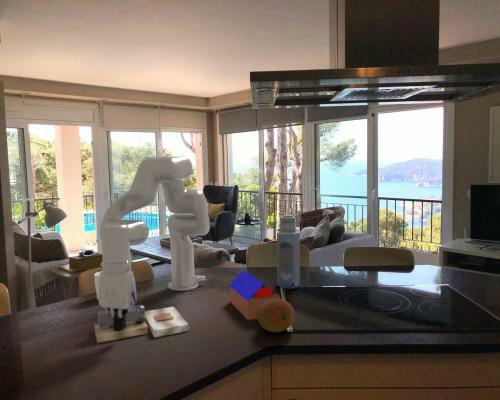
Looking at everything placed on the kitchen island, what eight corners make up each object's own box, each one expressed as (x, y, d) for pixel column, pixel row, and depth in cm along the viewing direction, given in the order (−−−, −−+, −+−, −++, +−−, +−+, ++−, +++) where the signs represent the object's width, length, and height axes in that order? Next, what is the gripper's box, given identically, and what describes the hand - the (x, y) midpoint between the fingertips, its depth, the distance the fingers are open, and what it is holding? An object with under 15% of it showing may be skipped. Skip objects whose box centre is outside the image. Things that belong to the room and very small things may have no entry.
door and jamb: (173, 312, 136) (173, 305, 136) (188, 330, 120) (188, 322, 120) (93, 326, 125) (93, 318, 125) (98, 348, 109) (97, 339, 109)
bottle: (274, 287, 163) (273, 216, 161) (281, 281, 172) (280, 213, 170) (296, 289, 159) (295, 216, 157) (302, 283, 169) (301, 213, 166)
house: (259, 298, 150) (258, 268, 149) (281, 315, 132) (280, 281, 131) (229, 302, 146) (228, 271, 145) (247, 321, 127) (246, 286, 127)
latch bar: (144, 318, 125) (143, 304, 124) (146, 322, 122) (145, 307, 121) (98, 326, 119) (97, 311, 119) (99, 330, 116) (98, 314, 116)
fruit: (266, 341, 111) (265, 307, 111) (249, 326, 123) (248, 294, 122) (301, 334, 116) (301, 301, 115) (281, 319, 128) (281, 289, 127)
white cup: (91, 300, 152) (89, 274, 151) (107, 294, 159) (105, 269, 158) (105, 302, 148) (104, 276, 147) (121, 296, 155) (120, 271, 154)
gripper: (86, 268, 111) (89, 331, 112) (131, 272, 106) (133, 338, 107) (104, 262, 118) (107, 322, 119) (147, 265, 113) (149, 327, 114)
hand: (119, 329), depth 113 cm, fingers closed
